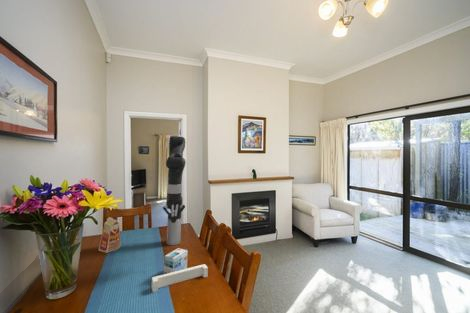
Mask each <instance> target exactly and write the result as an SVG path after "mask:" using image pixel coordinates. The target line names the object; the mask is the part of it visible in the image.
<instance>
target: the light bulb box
mask: <svg viewBox="0 0 470 313" xmlns="http://www.w3.org/2000/svg"><path fill="white" fill-rule="evenodd" d="M188 253H189V251H188V249H183V248H180V247H178V248H176V249H174V250H172V251H171V252H169V253H167V254H166V255H164V264H163V265H164V267H163V274H167V273H171V272H175V271H179V270H183V269H187V268H188V255H189V254H188Z"/></svg>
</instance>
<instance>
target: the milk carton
mask: <svg viewBox="0 0 470 313" xmlns="http://www.w3.org/2000/svg"><path fill="white" fill-rule="evenodd" d="M120 231H121V229H120V223H119V222H118V220H117V219H114V218H112V217H110V216H109V217H108V219H107V221H105V222H104V225H103V229H102V233H101V238H100V241H99V246H98V251H99V252H102V253H106V254H107V253H109V252H113V251H117V250H118V249H120V248H121V232H120Z"/></svg>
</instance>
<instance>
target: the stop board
mask: <svg viewBox="0 0 470 313" xmlns="http://www.w3.org/2000/svg"><path fill="white" fill-rule="evenodd" d="M208 275H209V267H208V266H207V264H205V263H204V264H200V265H196V266H191V267H187V269H183V270H179V271H175V272H171V273H167V274H164V273H163V274H160V275H156V276H153V277H151V290H152V293H157V292H158V291H159V289H160V288H163V287H167V286H168V287H169V286H170V285H175V284H177V283H181V282H185V281H189V280H192V279H195V278H199V277H203V278H208Z"/></svg>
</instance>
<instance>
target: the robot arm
mask: <svg viewBox="0 0 470 313" xmlns="http://www.w3.org/2000/svg"><path fill="white" fill-rule="evenodd" d="M185 147H186V138H185V137H184V136H175V135H173V136H169V140H168V158H167V159H166V161H165V166H166V168H167V191H166V192H167V193H166V198H165V199H166V200H165V201H166V202H165V203H166V204H165V205H164V206H162V210H163V211H164V212H165V213H166V214H167V230H166V244H167V245H168V246H176V245H179V244H180V243H181V237H182V236H181V235H182V234H181V233H182V212H183V211H184V210H185V208H186V205H185V204H183V196H182V191H183V190H182V182H183V180H182V178H183V172H184V170H185V166H186V159H185V158H184V157H183V155H184V151H185Z"/></svg>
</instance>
